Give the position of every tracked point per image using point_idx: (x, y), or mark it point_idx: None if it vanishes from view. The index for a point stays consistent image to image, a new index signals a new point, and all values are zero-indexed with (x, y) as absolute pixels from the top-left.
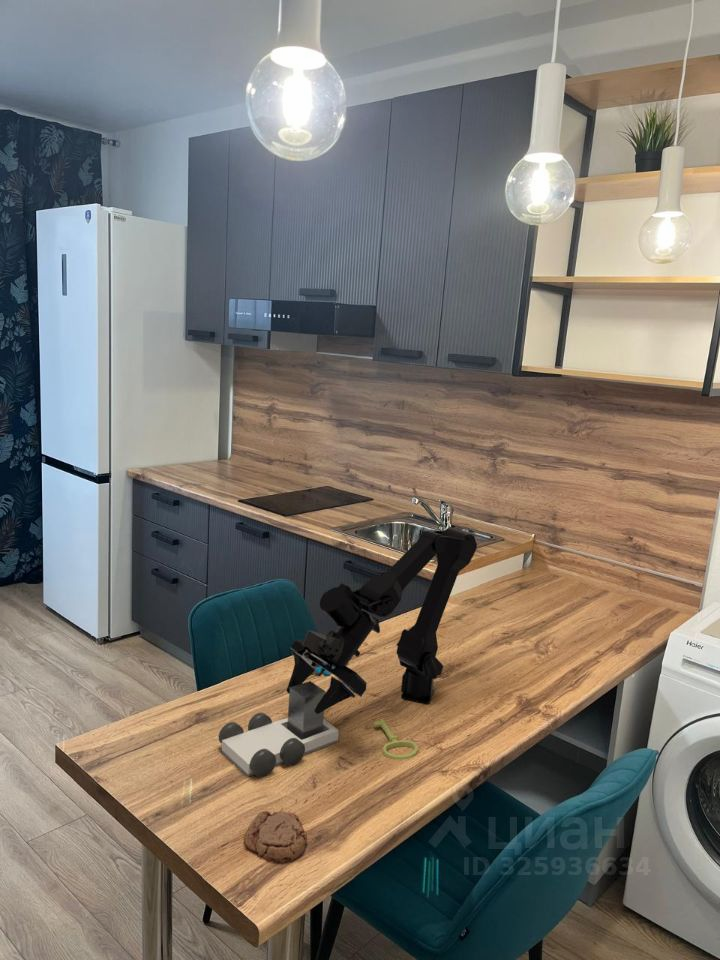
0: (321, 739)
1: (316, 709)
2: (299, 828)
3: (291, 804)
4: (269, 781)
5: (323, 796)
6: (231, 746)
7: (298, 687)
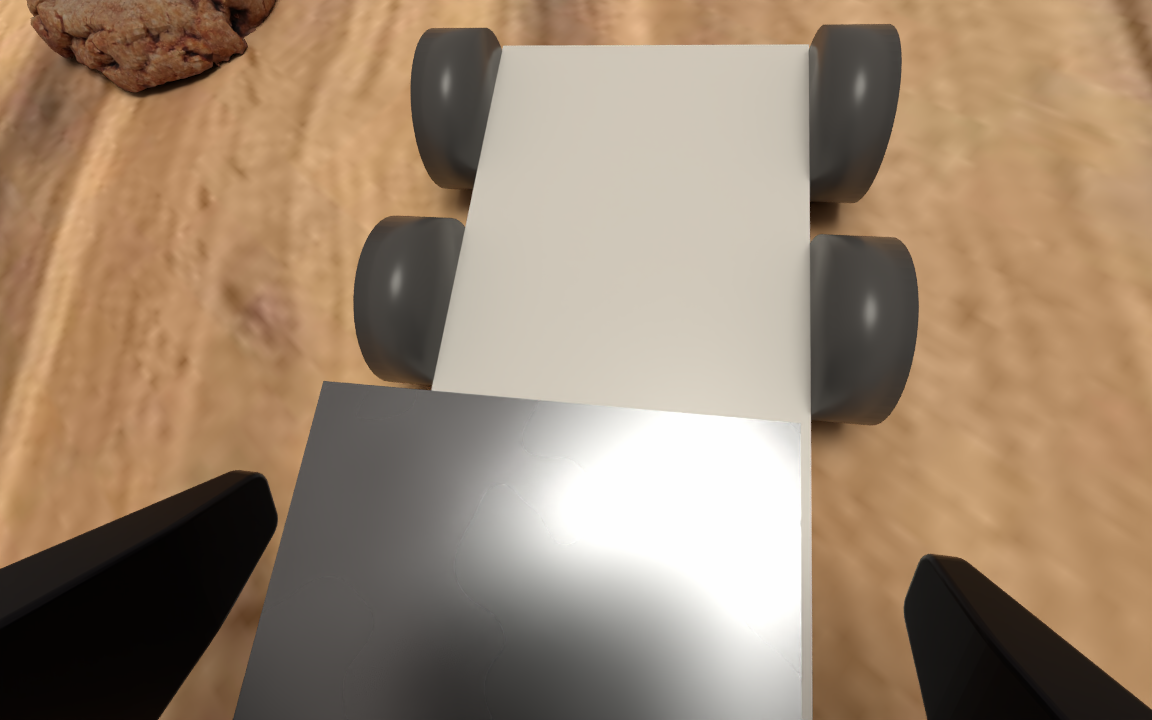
0: None
1: (211, 479)
2: (52, 7)
3: (241, 141)
4: None
5: (156, 277)
6: (711, 53)
7: (696, 571)
